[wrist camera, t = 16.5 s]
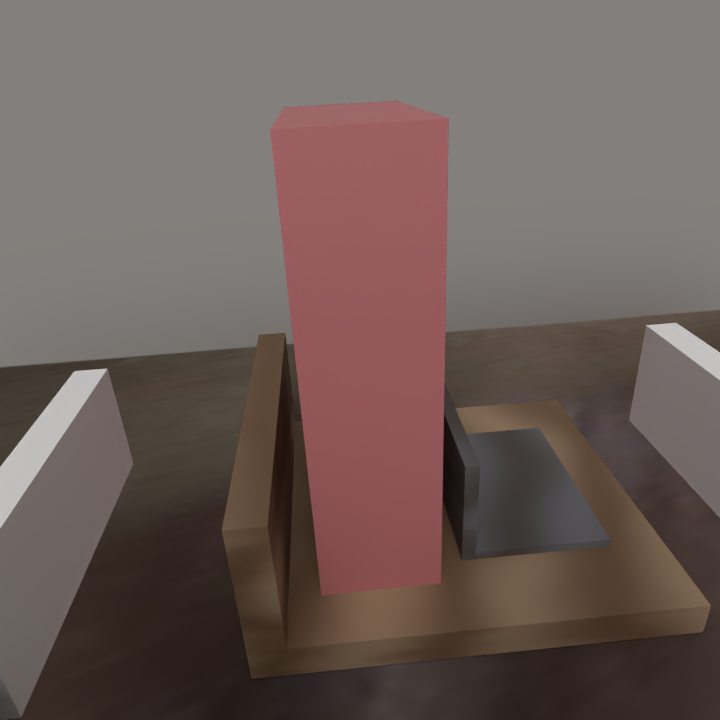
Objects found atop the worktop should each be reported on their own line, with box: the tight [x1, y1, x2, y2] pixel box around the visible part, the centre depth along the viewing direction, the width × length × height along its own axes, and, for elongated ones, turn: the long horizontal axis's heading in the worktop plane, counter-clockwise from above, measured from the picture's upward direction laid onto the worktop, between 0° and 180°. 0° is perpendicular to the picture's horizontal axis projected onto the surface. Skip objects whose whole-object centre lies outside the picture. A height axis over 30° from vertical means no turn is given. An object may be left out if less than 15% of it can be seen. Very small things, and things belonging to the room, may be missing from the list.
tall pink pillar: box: [270, 101, 449, 595], centre depth 25 cm, size 5×11×18 cm, turn 5°
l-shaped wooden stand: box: [222, 333, 711, 679], centre depth 29 cm, size 18×16×8 cm
